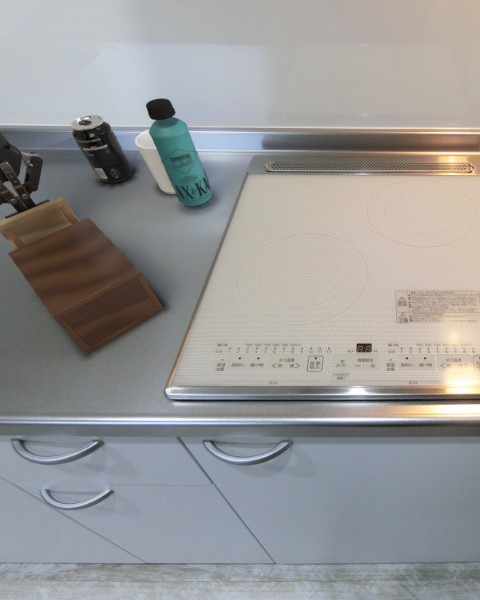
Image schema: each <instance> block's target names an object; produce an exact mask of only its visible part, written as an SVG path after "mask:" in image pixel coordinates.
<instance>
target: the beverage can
mask: <svg viewBox="0 0 480 600" xmlns="http://www.w3.org/2000/svg"><path fill="white" fill-rule="evenodd" d="M70 127H71V129H72V130H71V136H72V138H73V140H74V141H75V143H76V145H77V146H78V148H79V150H80V152H81V153H82V155H83V156H84V158H85V159H86V161H87V163H88V164H89V166H90V168H91V169H92V171H93V172H94V175H95V176H96V177H97V179H98V180H99V181H100V182H103V183H108V184H116V183H121V182H123V181H125V180H127V179H128V178H129V177H130V176H131V174H132V173H133V167H132V164H131V163H130V160H129V159H128V157H127V155H126V153H125V151H124V150H123V147H122V145H121V144H120V141H119V139H118V138H117V136H116V134H115V131H114V130H113V128H112V126H111V124H110V123H109V122H107V121H104V119H103V117H102V116H100V115H95V114H93V115H85V116H81V117H79V118H76V119H75V120H73V121H72V122H71V123H70Z"/></svg>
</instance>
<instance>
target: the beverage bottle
mask: <svg viewBox="0 0 480 600" xmlns="http://www.w3.org/2000/svg"><path fill="white" fill-rule="evenodd" d="M145 108H146V111H147V115H148V117H149V118H150V119H151V120H153V122H152V124H151V125H150V127H149V128H148V129H149V134H150V136H151V137H152V140H153V142H154V144H155V147H156V149H157V151H158V153H159V156H160V158H161V161H162V162H161V163H163V165H164V167H163V168H165V172H167V175H168V177H169V181H171V183H172V186H173V187H172V188H174V189H173V190H175V192H176V194H175V195H176V198H177V200H178V201H179V202H180V203H181V204H182V205H184V206H188V207H195V206H200V205H202V204H205V203H206V202H208V201H209V200H210V199H211V198H212V188H211V184H210V181H209V179H208V176H207V173H206V170H205V169H204V166H203V163H202V161H201V159H200V156H199V151H198V150H197V149H196V146H195V143H194V140H193V138H192V135H191V132H190V130H189V127H188V124H187V123H186V121H184V120H182V119H179V118H178V117H175V115H176V114H177V113H176V109H175V107H174V106H173V104H172V101H171V100H170V99H168V98H163V97H162V98H155V99H151V100H149V101H148V102H147V103H146V104H145Z"/></svg>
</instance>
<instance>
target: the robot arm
mask: <svg viewBox="0 0 480 600" xmlns="http://www.w3.org/2000/svg"><path fill="white" fill-rule="evenodd" d="M22 162H23V164H24V166H26V167H25V173H24V179H23V183H22V182H21V180H20V179H19V176H20V174H21V168H22V167H21V166H22ZM43 165H44V159H43V158H42V157H41V156H40V155H39V154H38V153H37V152H36V151H31V152H25V151H21V150H19V148H18V147H16V146H15V145H13V144H11V142H10V141H9V140H8V138H7V137H6V136H5V134H4V132H2V130H1V129H0V206H2V205H3V204H8V205H11V206H12V207H13V208H14V210H15V212H18V213H19V214H20V213H22V212H24V211H27V209H28V210H29V209H32V208H34V207H37V206H36V204H37V203H35V202H34V200H33V199H32V197H31V194H32V193H33V192H37V191H38V190H39V186H40V180H41V176H42V175H41V174H42V169H43ZM7 182H8V183H9V185H10V186H11V188H12V190H14V192H15V193H16V195H15V194H14V193H13V192H12V191H11V190H10V189H9V188H8V187H7V186H6V185H5V184H4V183H7Z"/></svg>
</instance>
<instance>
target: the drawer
mask: <svg viewBox="0 0 480 600" xmlns="http://www.w3.org/2000/svg"><path fill="white" fill-rule="evenodd" d="M35 204H36V206H37V207H34V208H32V209H29V210H28V209H27V211H24V212H22V213H20V214H19V213H18V212H17V211H15V212H13V213H10V214H8V215H5V216H4V219H3V220H0V234H1V236H3V238H4V239H5V240H6V241H7V242H8V243H9V244H10V245H11V246H12V247H13V249H14V250H16V249H19V248H21V247H23V246H25V245H28V244H30V243H32V242H34V241H36V240H39V239H41V238H43V237H45V236H48V235H50V234H52V233H54V232H57V231H59V230H61V229H63V228H66V227H68V226H70V225H72V224H74V223H77V222H79V221H80V219H79V218H78V216H77V215H76V214H75V212H74V210H73V209H72V208H71V206H70V204H69V203H68V202H67V201H66V199H65V198H64V197H63V196H62V195H61V196H59V197H56V198H54V199H51V200H50V199H48V198H47V199H45V200H42V201H40V202H37V203H35Z"/></svg>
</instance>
